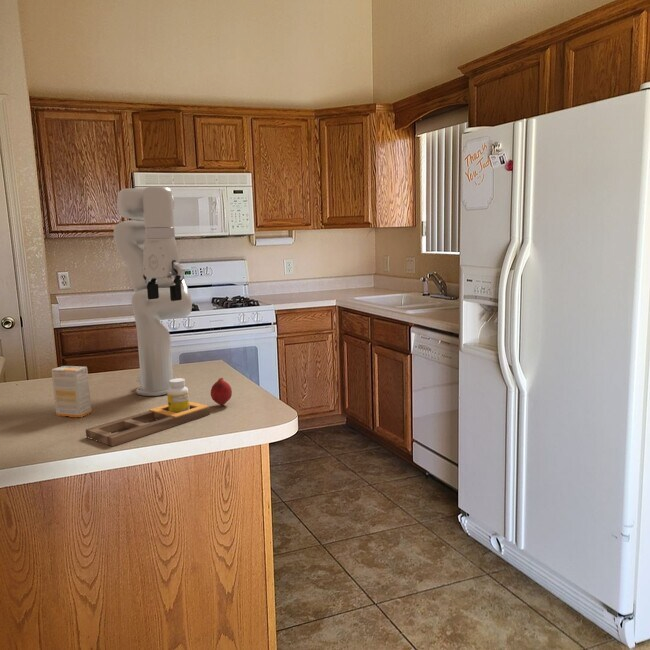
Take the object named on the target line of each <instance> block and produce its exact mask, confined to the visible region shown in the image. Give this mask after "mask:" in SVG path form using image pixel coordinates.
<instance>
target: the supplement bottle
mask: <svg viewBox="0 0 650 650" xmlns="http://www.w3.org/2000/svg"><path fill="white" fill-rule="evenodd" d="M169 385H170V387H171V388H169V389H168V391H167V394H166V395H167V404H168V407H169V411H170V412H174V413H179V412H183V411H186V410H189V409H190V406H189V401H190V396H189V388H188V387H187V386H185V385H186V379H185V378H183V377H182V378H181V377H177V378H173V379H171V380H170V381H169Z"/></svg>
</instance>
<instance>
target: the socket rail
mask: <svg viewBox="0 0 650 650" xmlns="http://www.w3.org/2000/svg"><path fill="white" fill-rule="evenodd" d="M189 406H190V409H189V410H186V411H183V412H179V413H174V412H170V411H169V407H168V403H167V404H164V405H161V406H160V405H159V406H156V407H153V408H150V409H148V411H144V412H140V413H137V414H134V415H129V416H127V417H123V418H120V419H117V420H114V421H110V422H106V423H103V424H100V425H95V426H94V427H93V426H92V427H90V428H86V429H85V437H86V436H87V437H89V438H92V439H95V440H97V441H96V442H98V441H100V442H99V443H101V442H102V444H104V443H105V444H104V445H107V446H110V447H116V446H118V445H121V444H124V443H127V442H130V441H134V440H137V439H140V438H141V437H142V438H143V437H145V436H148V435H152V434H154V433H157V432H161V431H163V430H167V429H170V428H173V427H175V426H178V425H181V424H184V423H188V422H191V421H193V420H196V419H199V418H204V417H205V416H208V415H209V416H210V415H211V413H210V411H211V410H210V405H206V404H202V403H197V402H195V401H190V400H189ZM154 420H155V421H154ZM150 421H152V422H150ZM147 422H149V423H147ZM121 429H122V430H121ZM126 429H127V430H126ZM117 430H119V431H120V432H118V431H117ZM123 430H124V431H123ZM114 431H115V432H117V433H115V432H114ZM110 432H112V433H110ZM89 438H88V439H89ZM92 439H91V440H92ZM95 440H94V441H95Z"/></svg>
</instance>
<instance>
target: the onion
mask: <svg viewBox="0 0 650 650" xmlns="http://www.w3.org/2000/svg"><path fill="white" fill-rule="evenodd" d="M232 391H233V390H232V387H231V385H230V384H229V383H228V382H227V381H225V380H224V378H223V377H219V378H218V380H217V381H216V382H215V383H213V384H212V386H211V389H210V396H211V397H210V398H211V399H212V400H213V401H214V402H215V403H216V404H217V405H220V406H221V405H222V406H224V405H226V403H227V402H229V400H230V399H231V398H232V397H233V396H232V395H233V392H232Z"/></svg>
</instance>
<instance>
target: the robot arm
mask: <svg viewBox="0 0 650 650" xmlns="http://www.w3.org/2000/svg"><path fill="white" fill-rule="evenodd" d="M116 205H117V210H118V213H119V215H120V216H121V217H122V218H124V219H130V220H125V221H121V222H119V223H117V224H116V225H115V226H114V228H113V239H114V244H115V248H116V250H117V253H118V254H119V256H120V258H121V259H122V261H123V262H124V264H125V265H126V268H127V271H128V274H129V275H128V276H129V280H130V284H131V287H132V289H133V291H134V294H133V295H132V296H131V308H132V311H133V316H134V322H135V327H136V335H137V348H138V358H139V362H138V363H139V372H140V373H139V374H140V376H139V377H137V378H136V382H138V383H139V386H138V387H137V388H136V391H135V392H136V394H137V395H140V396H146V397H155V396H156V397H157V396H164V395H165V396H166V395H167V391H168V389H169V388H171V387H170V385H169V381H170V380H171V379H174V376H173V375H174V374H173V373H174V372H173V360H172V359H173V358H172V348H171V345H172V344H171V335H170V334H171V333H170V332H169V330H168V329H167V328H166V326H164V324H162V322H161V321H162V320H169V319H171V320H172V319H180V318H186V317H187V316H189V315H190V314H191V312H192V309H193V304H192V302H193V301H192V296H191V293H190V290H189V287H188V285H187V282H186V279H185V273H186V268H185V267H184V266H182V265H181V264H180V255H179V250H178V246H177V245H178V244H177V241H176V232H175V215H174V209H175V199H174V196H173V192H172V190H171V188H169V187H168V186H147V187H144V188H143V187H141V188H139V187H138V188H137V187H135V188H133V187H131V188H129V187H128V188H123V189H121V190H120V191H119V192H118V193H117V198H116ZM142 247H143V248H142Z"/></svg>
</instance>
